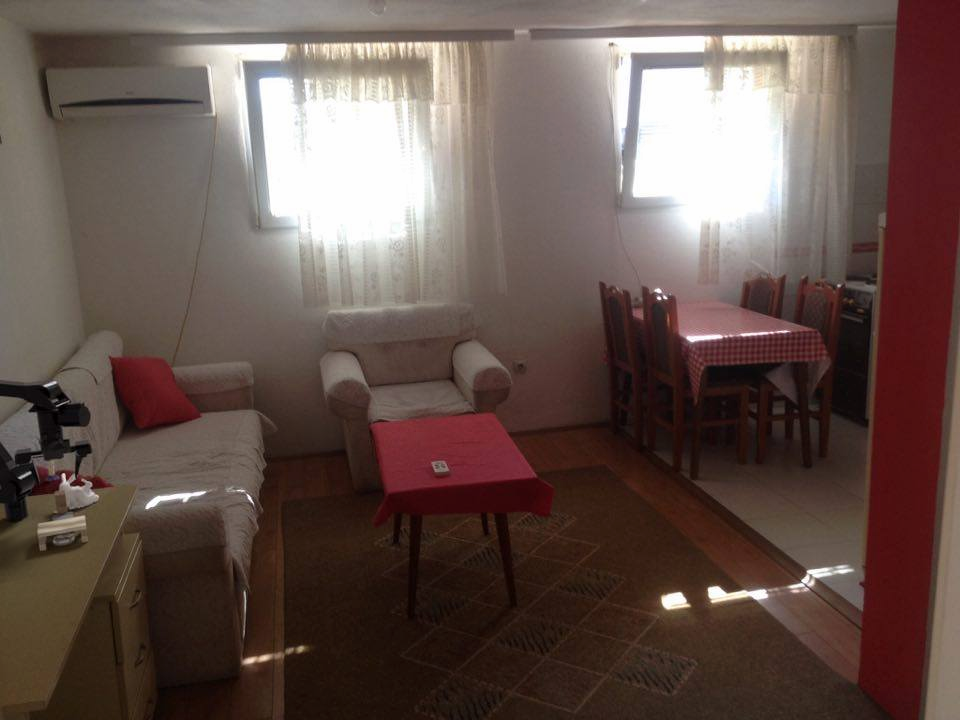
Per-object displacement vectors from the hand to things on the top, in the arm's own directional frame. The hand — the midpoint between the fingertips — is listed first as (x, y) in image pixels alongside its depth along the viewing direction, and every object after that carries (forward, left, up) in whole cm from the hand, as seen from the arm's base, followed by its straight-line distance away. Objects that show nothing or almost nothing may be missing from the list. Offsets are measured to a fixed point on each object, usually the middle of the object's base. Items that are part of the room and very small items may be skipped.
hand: (57, 481), depth 231 cm
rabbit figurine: (-8, +4, -11) cm, 14 cm away
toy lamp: (-37, -2, -10) cm, 38 cm away
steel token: (+21, 0, -10) cm, 23 cm away
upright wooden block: (0, 0, -10) cm, 10 cm away
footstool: (+20, 0, -10) cm, 22 cm away
